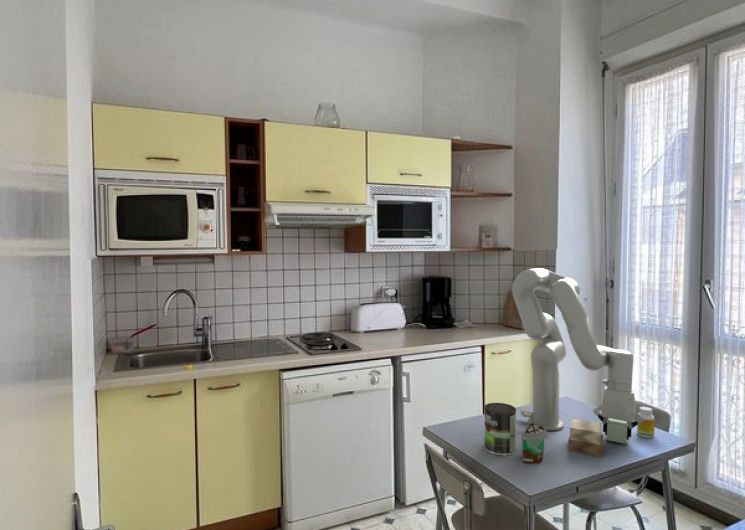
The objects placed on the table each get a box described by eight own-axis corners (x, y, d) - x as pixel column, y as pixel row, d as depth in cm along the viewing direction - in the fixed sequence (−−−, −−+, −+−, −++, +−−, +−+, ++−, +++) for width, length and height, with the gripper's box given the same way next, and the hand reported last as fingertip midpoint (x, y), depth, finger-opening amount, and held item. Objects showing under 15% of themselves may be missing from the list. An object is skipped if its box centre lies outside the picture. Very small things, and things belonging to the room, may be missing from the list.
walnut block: (568, 451, 152) (568, 439, 152) (571, 440, 161) (571, 429, 160) (602, 458, 147) (602, 445, 147) (603, 446, 156) (603, 434, 156)
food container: (542, 469, 138) (542, 437, 138) (521, 464, 142) (521, 432, 141) (550, 454, 149) (550, 424, 149) (530, 450, 152) (531, 420, 152)
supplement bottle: (656, 438, 161) (657, 411, 161) (640, 437, 162) (640, 410, 162) (650, 432, 166) (651, 406, 166) (634, 431, 167) (634, 405, 167)
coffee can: (497, 458, 146) (497, 414, 146) (477, 445, 156) (478, 404, 155) (522, 452, 150) (522, 410, 150) (502, 440, 160) (502, 400, 159)
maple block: (570, 439, 152) (570, 427, 152) (572, 430, 160) (572, 418, 160) (600, 444, 148) (600, 432, 147) (601, 434, 155) (601, 423, 155)
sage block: (606, 439, 158) (607, 422, 158) (607, 433, 163) (608, 417, 163) (626, 444, 155) (627, 426, 155) (626, 437, 160) (627, 420, 160)
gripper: (591, 384, 159) (588, 434, 160) (648, 393, 151) (645, 446, 152) (592, 378, 166) (590, 427, 167) (647, 387, 157) (645, 438, 158)
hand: (616, 435), depth 159 cm, fingers closed on sage block, 6 cm apart
